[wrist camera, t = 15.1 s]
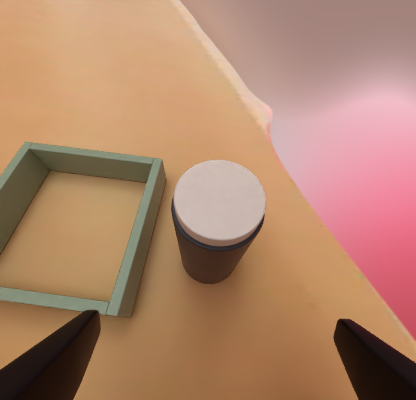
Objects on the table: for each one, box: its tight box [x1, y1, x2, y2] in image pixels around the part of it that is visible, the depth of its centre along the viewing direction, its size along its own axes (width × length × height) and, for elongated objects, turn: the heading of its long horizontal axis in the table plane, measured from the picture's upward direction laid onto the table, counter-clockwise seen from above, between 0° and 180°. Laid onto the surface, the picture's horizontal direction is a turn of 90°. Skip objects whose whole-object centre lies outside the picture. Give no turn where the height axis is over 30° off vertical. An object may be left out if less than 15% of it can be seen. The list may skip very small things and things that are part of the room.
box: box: [0, 142, 166, 318], centre depth 20 cm, size 14×14×4 cm
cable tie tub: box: [171, 160, 266, 284], centre depth 16 cm, size 5×5×11 cm
